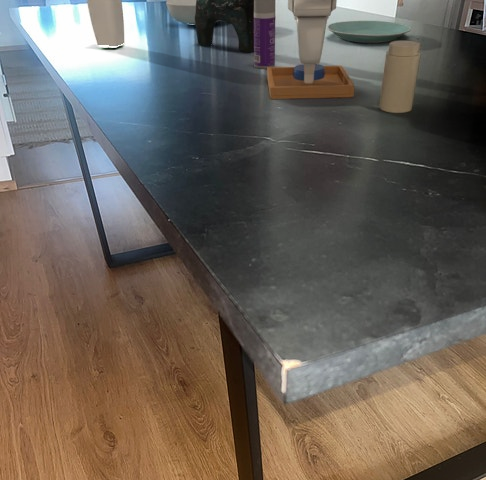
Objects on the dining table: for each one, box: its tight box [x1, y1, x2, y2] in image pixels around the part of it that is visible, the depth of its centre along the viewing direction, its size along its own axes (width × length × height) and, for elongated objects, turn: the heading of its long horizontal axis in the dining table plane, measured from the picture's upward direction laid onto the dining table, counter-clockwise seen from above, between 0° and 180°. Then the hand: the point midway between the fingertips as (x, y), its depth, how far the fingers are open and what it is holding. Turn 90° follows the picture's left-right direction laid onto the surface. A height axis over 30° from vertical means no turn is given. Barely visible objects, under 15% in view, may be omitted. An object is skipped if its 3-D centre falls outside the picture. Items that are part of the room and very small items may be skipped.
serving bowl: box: [165, 0, 222, 24], centre depth 165 cm, size 21×21×7 cm
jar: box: [378, 40, 422, 114], centre depth 90 cm, size 6×6×10 cm
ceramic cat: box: [194, 0, 254, 54], centre depth 130 cm, size 20×6×20 cm, turn 51°
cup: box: [86, 0, 125, 46], centre depth 136 cm, size 7×7×15 cm
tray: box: [266, 65, 355, 100], centre depth 104 cm, size 16×16×2 cm
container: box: [253, 0, 276, 70], centre depth 115 cm, size 5×5×15 cm
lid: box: [293, 63, 325, 81], centre depth 103 cm, size 6×6×2 cm
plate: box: [326, 20, 412, 44], centre depth 142 cm, size 22×22×3 cm
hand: (308, 77), depth 104 cm, fingers closed on lid, 6 cm apart
